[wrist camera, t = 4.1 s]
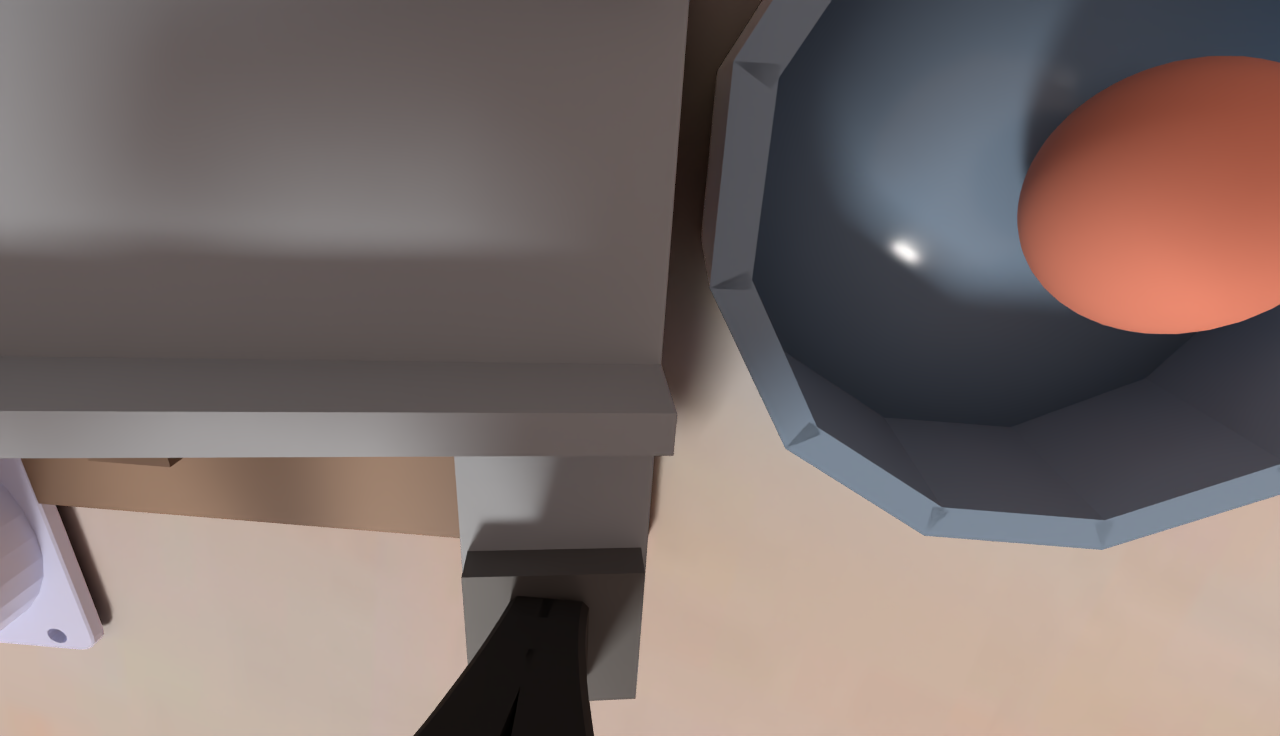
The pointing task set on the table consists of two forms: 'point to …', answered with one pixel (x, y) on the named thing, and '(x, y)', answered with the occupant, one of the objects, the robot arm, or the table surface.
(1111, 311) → the ball
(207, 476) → the catapult base
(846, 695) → the table surface
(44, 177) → the lever
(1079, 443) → the bowl
